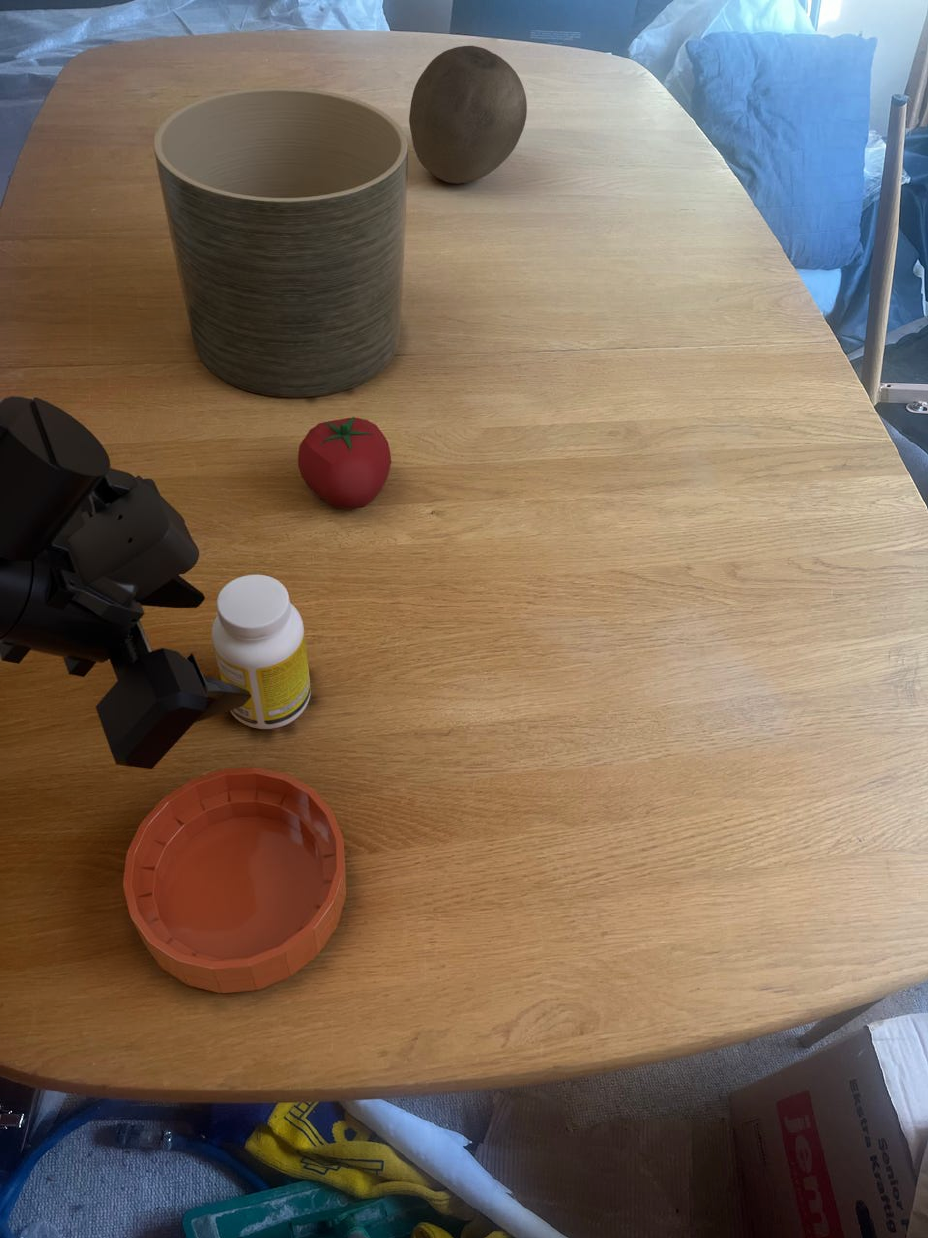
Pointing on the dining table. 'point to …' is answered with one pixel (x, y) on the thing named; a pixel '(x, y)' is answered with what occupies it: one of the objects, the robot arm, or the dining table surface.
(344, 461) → the tomato
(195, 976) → the bowl
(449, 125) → the egg shaped brown fruit
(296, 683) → the pill bottle
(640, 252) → the dining table surface
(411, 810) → the dining table surface
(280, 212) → the planter
